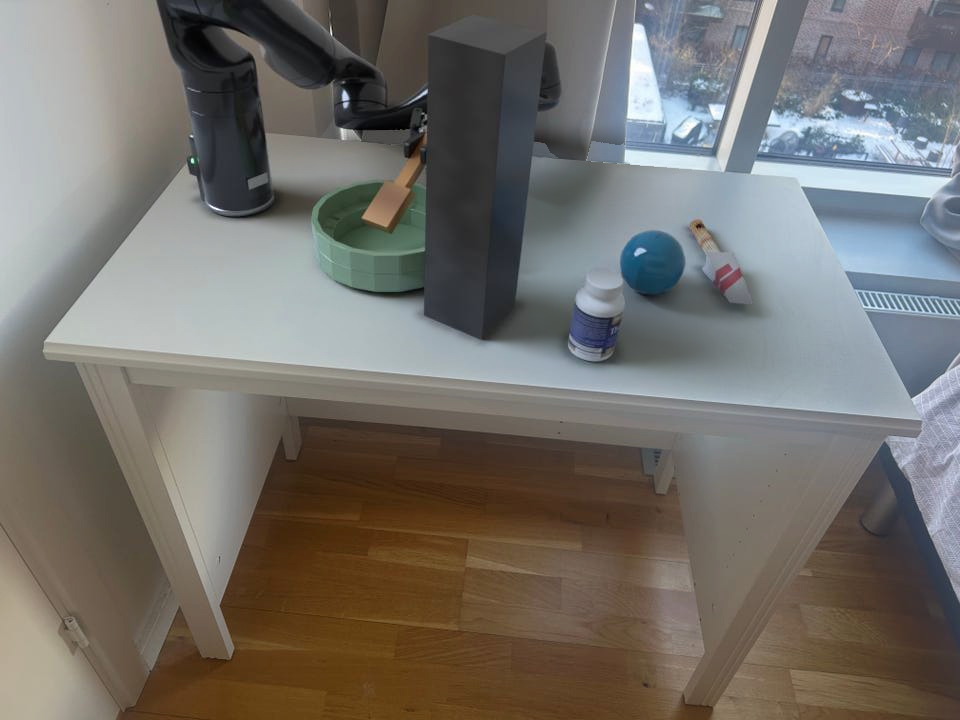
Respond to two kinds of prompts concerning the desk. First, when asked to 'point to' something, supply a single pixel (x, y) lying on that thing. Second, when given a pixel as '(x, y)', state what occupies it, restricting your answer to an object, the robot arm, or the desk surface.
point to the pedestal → (478, 167)
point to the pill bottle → (597, 315)
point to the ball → (652, 262)
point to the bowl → (369, 240)
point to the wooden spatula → (395, 195)
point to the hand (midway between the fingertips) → (414, 153)
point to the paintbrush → (721, 266)
